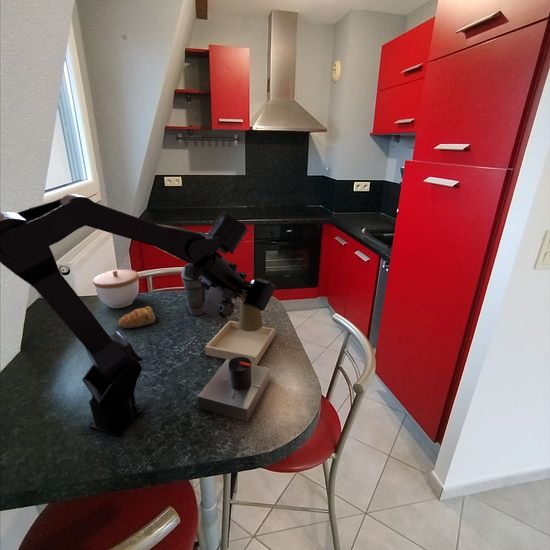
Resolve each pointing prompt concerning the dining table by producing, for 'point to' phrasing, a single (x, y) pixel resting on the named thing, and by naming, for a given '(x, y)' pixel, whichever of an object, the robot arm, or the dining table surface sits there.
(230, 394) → the stove panel
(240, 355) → the wooden tray
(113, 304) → the lidded bowl
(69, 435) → the dining table surface
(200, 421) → the dining table surface
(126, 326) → the pastry
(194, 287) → the beverage cup
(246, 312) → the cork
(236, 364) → the stove knob
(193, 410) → the dining table surface
